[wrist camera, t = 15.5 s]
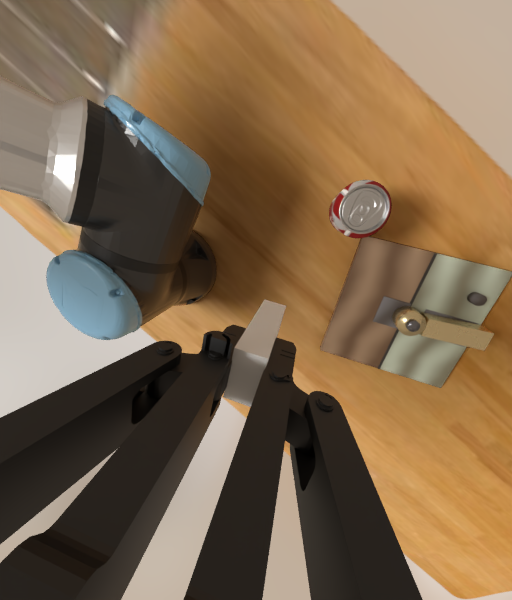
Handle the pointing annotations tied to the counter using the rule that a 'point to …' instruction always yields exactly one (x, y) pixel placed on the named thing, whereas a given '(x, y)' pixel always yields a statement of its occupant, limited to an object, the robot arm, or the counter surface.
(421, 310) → the latch board
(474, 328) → the swing bar
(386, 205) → the soda can
